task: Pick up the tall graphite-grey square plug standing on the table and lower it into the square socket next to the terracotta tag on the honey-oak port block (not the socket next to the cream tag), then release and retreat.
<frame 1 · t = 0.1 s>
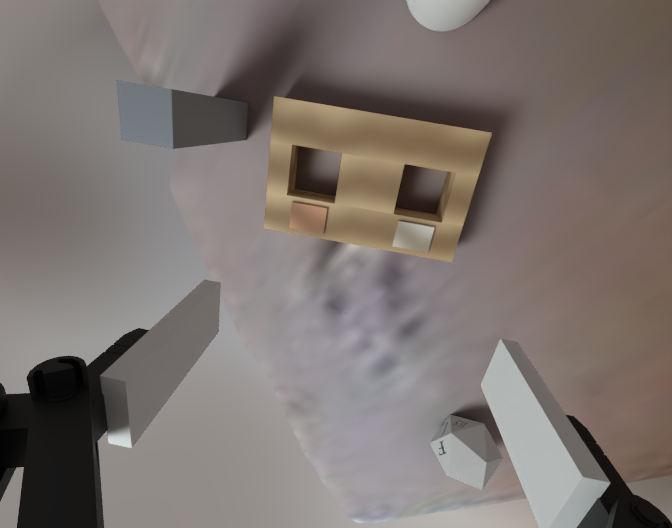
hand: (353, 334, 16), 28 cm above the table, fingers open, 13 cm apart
plug: (230, 118, 40), on the table
die: (458, 426, 54), on the table
port block: (368, 178, 41), on the table
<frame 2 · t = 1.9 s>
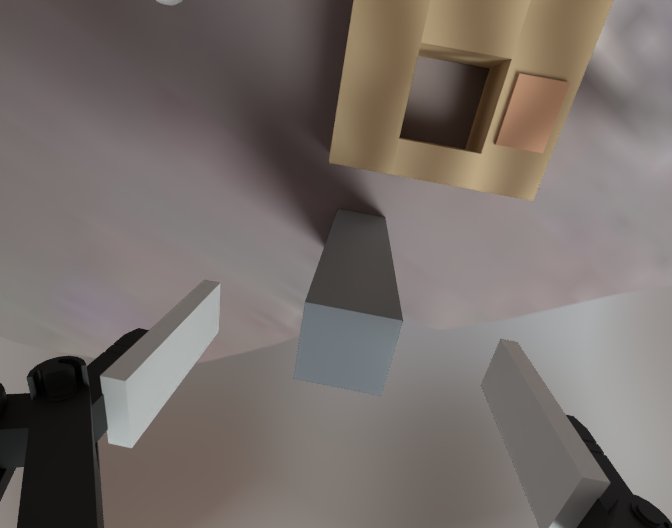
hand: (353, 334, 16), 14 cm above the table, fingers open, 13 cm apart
plug: (357, 235, 29), on the table
port block: (466, 4, 22), on the table
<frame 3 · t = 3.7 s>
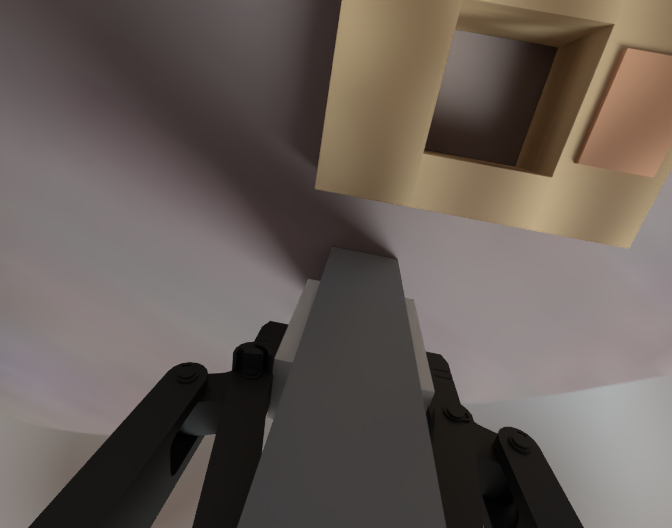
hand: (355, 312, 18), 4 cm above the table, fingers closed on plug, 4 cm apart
plug: (358, 282, 21), on the table, touching gripper
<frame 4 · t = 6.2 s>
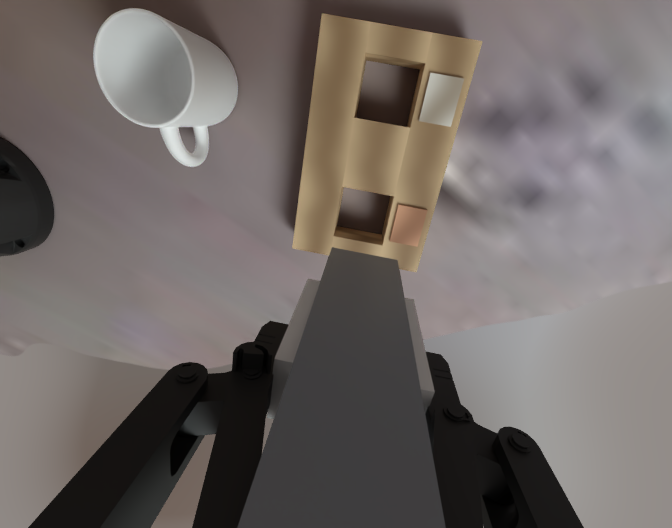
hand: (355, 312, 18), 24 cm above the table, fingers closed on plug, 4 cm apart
plug: (358, 283, 21), point 20 cm above the table, touching gripper
mug: (206, 104, 37), on the table
port block: (374, 155, 37), on the table
when the fingers open (6 cm above the table, at t = 8.9 s): plug drops 2 cm, resting in port block.
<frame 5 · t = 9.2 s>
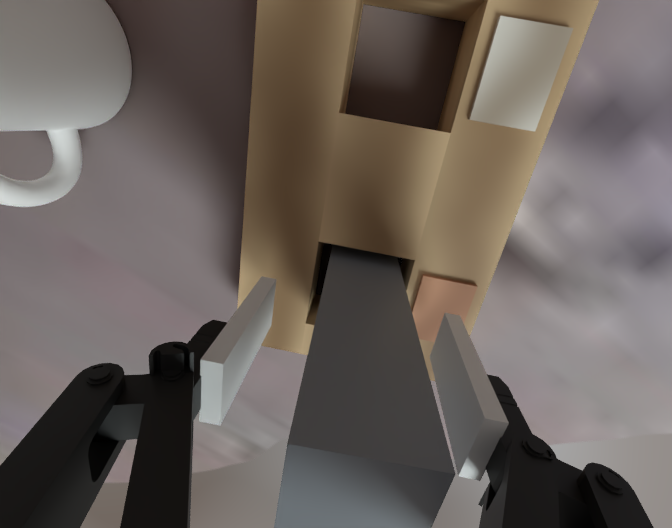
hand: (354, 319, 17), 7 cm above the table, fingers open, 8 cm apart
plug: (358, 267, 24), resting in port block
mug: (83, 90, 21), on the table
port block: (378, 179, 21), on the table
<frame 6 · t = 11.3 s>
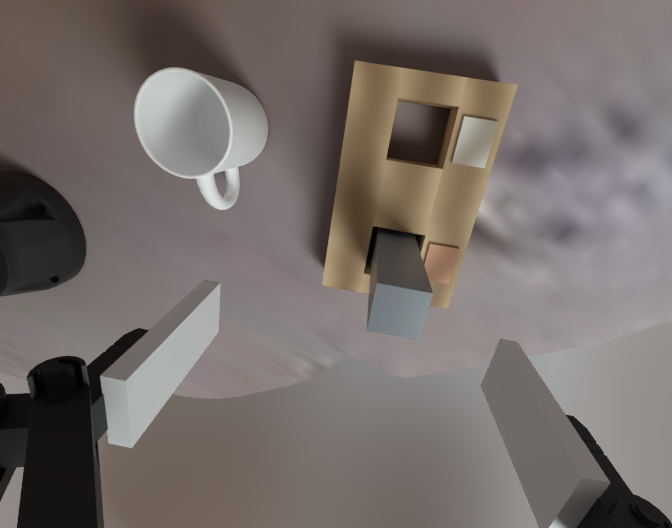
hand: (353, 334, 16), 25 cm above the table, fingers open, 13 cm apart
plug: (391, 243, 40), resting in port block
mug: (236, 144, 38), on the table
port block: (403, 191, 37), on the table
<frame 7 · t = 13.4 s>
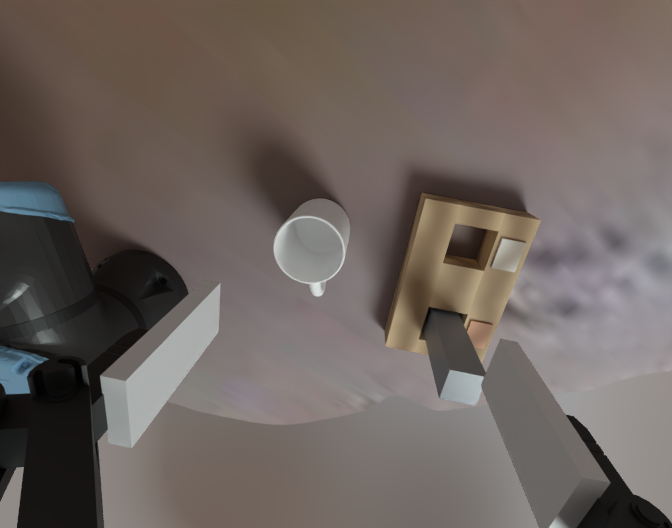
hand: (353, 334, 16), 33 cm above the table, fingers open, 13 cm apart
plug: (437, 312, 52), resting in port block
mug: (322, 238, 49), on the table
port block: (449, 277, 49), on the table
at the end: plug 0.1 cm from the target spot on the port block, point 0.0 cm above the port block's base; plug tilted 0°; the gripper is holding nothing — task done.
